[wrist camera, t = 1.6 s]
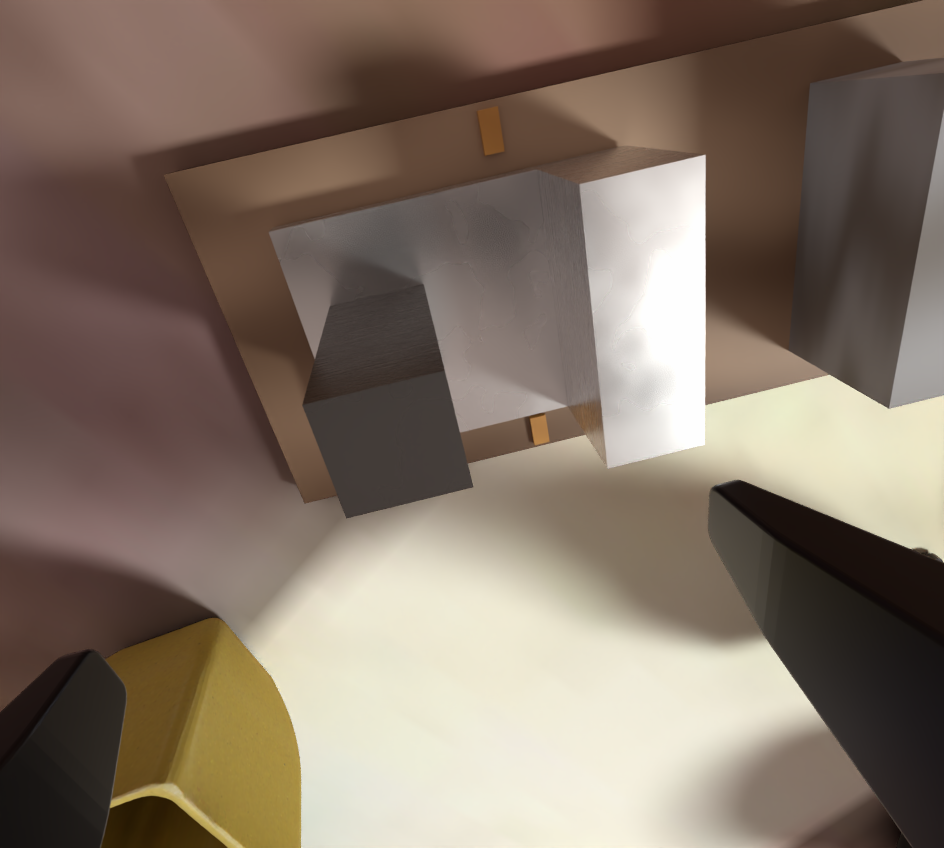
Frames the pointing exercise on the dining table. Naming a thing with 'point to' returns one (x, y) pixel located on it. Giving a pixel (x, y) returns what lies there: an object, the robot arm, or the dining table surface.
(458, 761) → the dining table surface
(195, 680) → the flower pot
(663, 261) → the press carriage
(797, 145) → the press base
